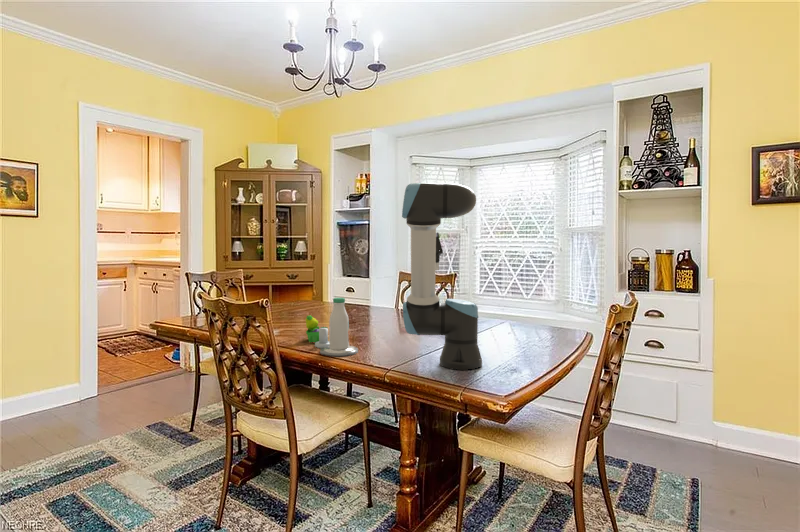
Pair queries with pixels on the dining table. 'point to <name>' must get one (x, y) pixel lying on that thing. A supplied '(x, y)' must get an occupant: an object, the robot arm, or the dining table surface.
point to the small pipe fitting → (322, 338)
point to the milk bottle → (339, 326)
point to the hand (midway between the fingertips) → (427, 269)
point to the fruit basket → (312, 329)
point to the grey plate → (338, 351)
